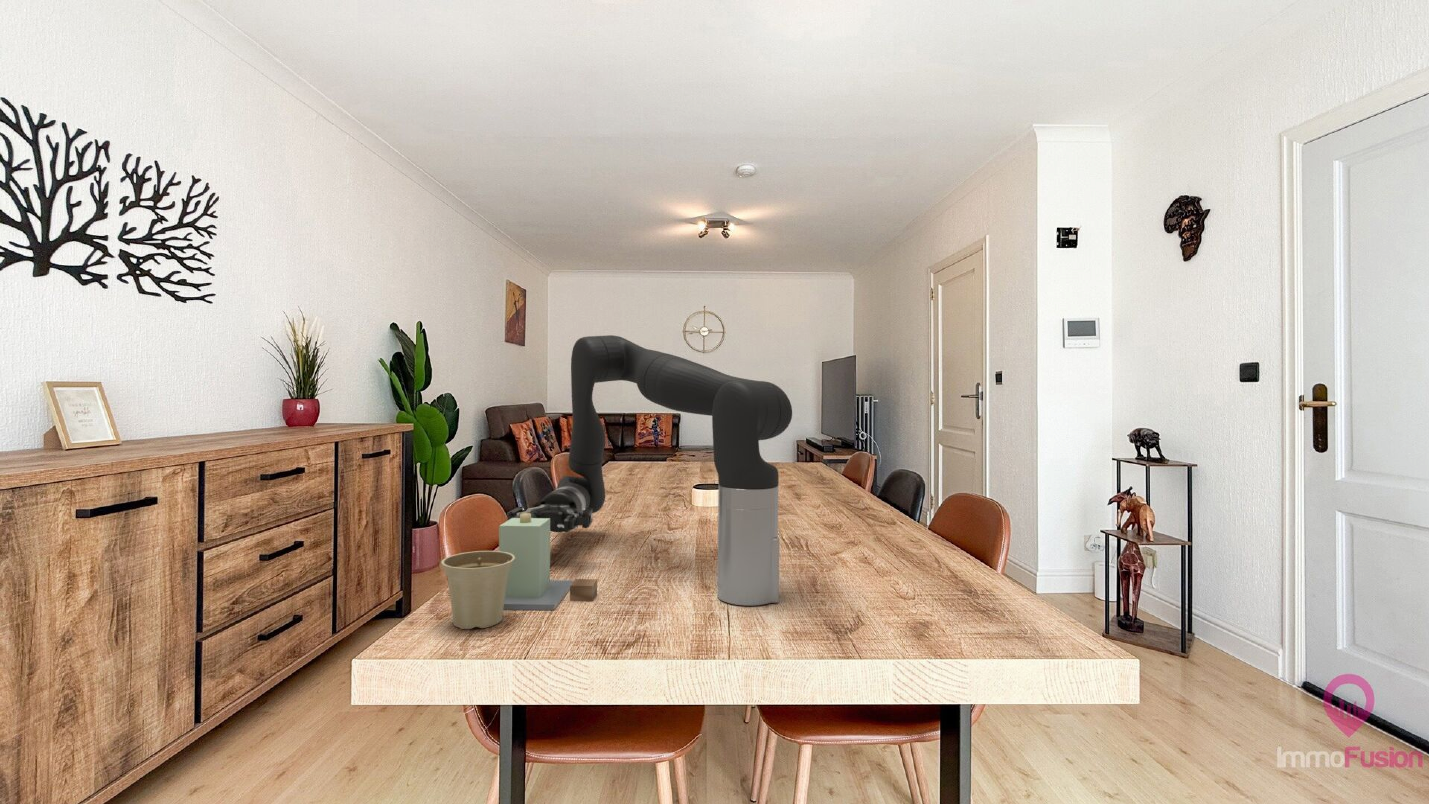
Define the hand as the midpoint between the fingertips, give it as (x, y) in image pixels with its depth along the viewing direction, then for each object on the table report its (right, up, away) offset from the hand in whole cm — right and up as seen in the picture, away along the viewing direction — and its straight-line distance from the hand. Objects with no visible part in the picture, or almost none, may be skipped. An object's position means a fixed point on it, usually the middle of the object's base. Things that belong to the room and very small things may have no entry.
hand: (540, 526), depth 109 cm
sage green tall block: (0, -8, -9) cm, 12 cm away
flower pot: (-3, -9, -20) cm, 22 cm away
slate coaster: (0, -9, -9) cm, 13 cm away
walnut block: (+9, -9, -9) cm, 16 cm away
